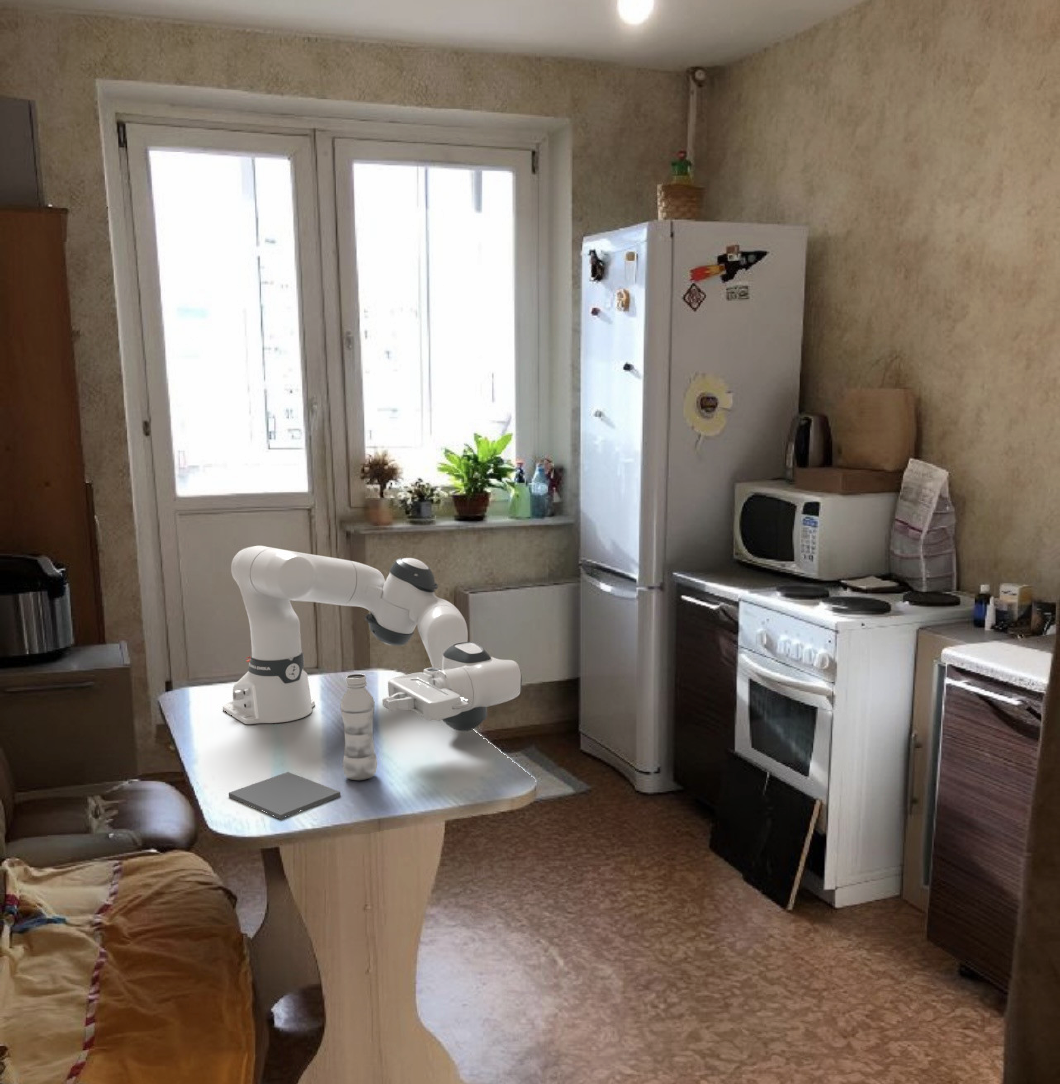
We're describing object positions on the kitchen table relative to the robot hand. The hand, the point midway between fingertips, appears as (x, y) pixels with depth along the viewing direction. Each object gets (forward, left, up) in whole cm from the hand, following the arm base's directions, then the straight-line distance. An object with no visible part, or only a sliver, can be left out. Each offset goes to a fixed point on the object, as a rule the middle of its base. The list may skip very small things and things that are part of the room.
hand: (385, 704), depth 188 cm
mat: (-6, -19, -14) cm, 25 cm away
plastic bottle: (-2, -5, -14) cm, 15 cm away
